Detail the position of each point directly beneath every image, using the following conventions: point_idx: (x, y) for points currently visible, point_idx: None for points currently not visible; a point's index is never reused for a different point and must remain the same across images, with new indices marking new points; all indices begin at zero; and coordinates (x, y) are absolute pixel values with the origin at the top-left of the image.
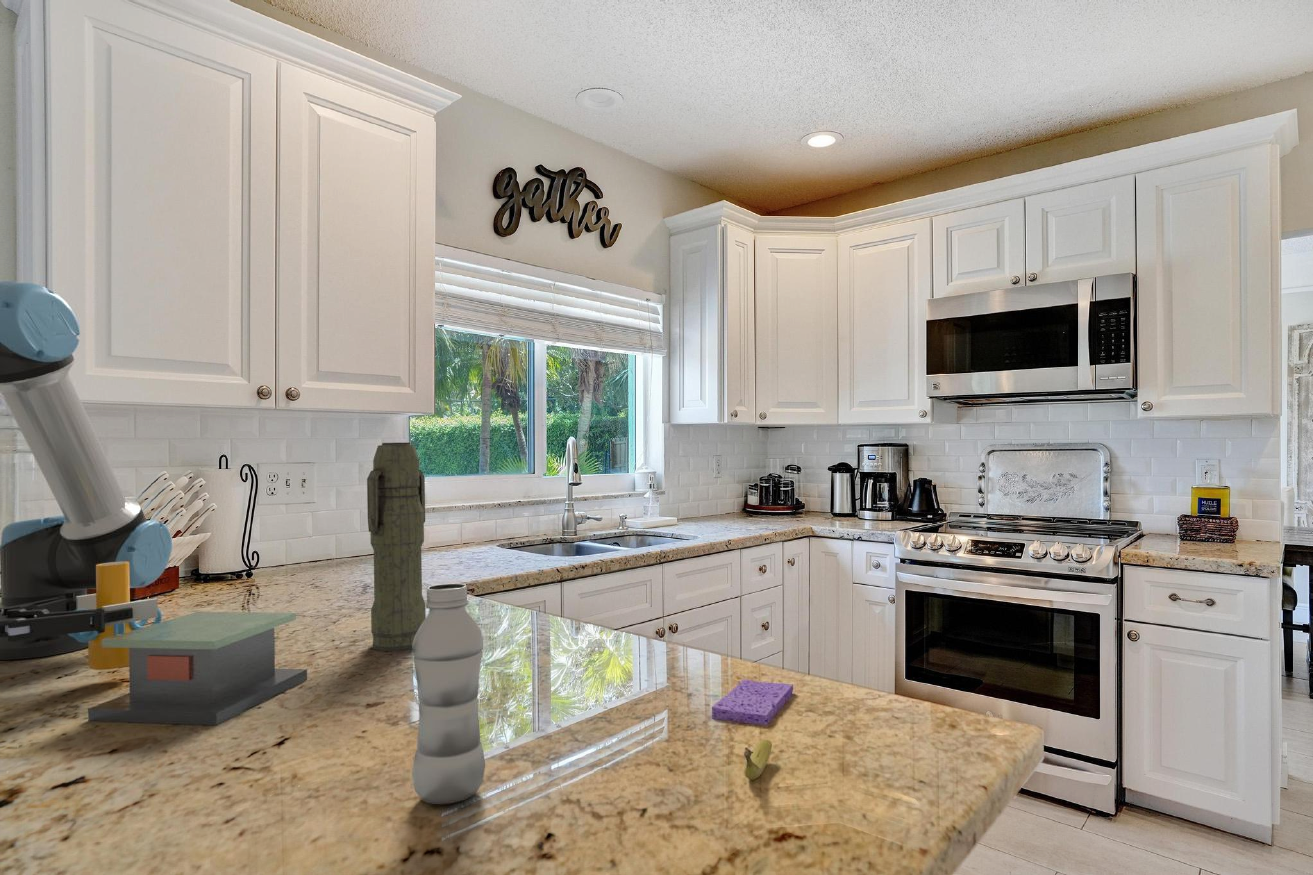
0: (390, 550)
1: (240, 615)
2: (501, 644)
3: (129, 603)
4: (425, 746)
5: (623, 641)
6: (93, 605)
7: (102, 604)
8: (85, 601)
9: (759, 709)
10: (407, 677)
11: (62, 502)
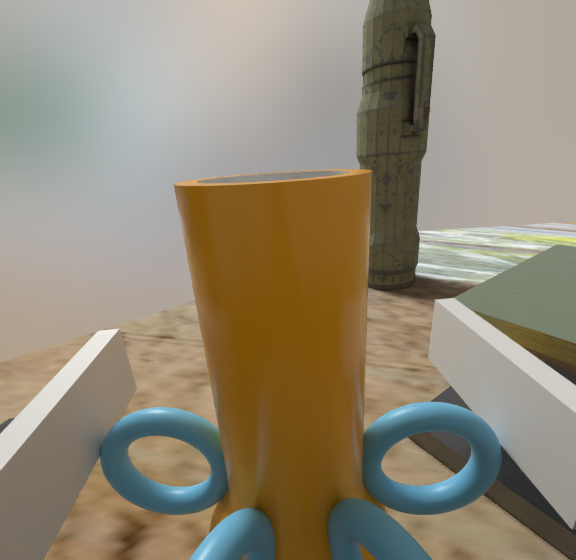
0: (418, 160)
1: (551, 272)
2: (444, 252)
3: (524, 349)
4: None
5: (481, 230)
6: (60, 477)
7: (346, 434)
8: (18, 495)
9: None
10: None
11: None
